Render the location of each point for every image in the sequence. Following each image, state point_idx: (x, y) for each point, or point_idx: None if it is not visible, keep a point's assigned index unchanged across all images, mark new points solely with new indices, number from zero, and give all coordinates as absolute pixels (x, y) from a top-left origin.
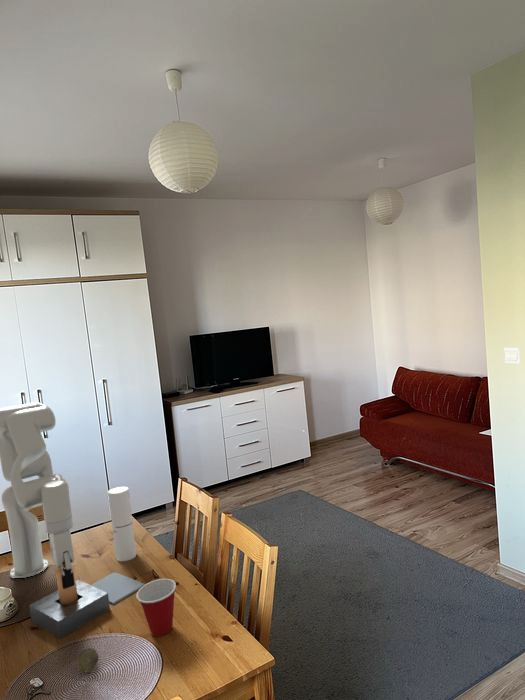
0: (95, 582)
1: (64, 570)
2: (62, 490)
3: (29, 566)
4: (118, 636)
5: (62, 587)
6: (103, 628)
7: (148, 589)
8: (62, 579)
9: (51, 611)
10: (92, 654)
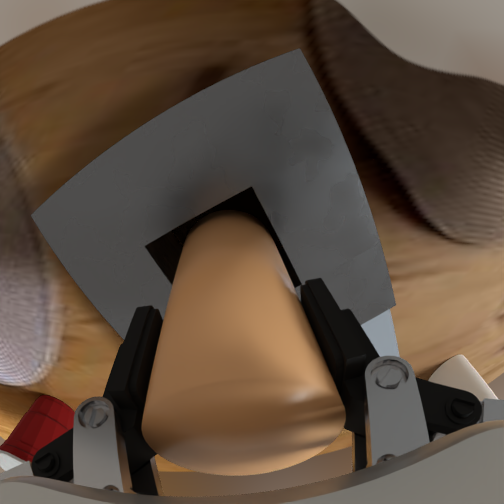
0: (392, 321)
1: (46, 464)
2: None
3: None
4: (43, 347)
5: (171, 299)
6: (83, 325)
7: None
8: (118, 365)
9: (134, 172)
10: None
